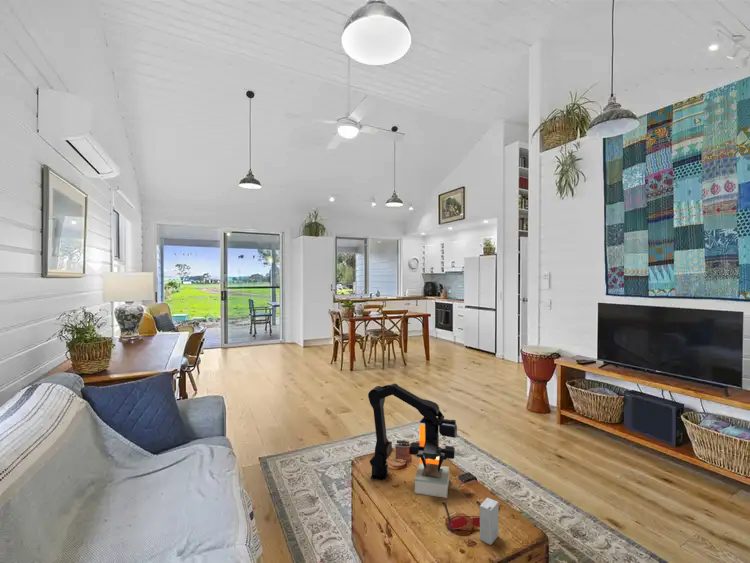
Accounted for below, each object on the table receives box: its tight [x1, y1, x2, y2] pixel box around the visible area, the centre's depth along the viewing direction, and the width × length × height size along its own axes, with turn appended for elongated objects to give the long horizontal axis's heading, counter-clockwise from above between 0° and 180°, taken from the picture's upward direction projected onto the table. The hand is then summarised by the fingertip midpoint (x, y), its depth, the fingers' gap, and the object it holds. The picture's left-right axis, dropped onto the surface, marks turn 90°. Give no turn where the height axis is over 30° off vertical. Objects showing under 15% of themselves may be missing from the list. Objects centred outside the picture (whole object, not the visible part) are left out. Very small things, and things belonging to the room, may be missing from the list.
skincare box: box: [479, 497, 499, 546], centre depth 125 cm, size 6×4×12 cm
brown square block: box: [425, 463, 439, 478], centre depth 156 cm, size 5×5×3 cm
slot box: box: [414, 462, 450, 499], centre depth 156 cm, size 13×13×6 cm
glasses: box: [442, 500, 482, 529], centre depth 137 cm, size 14×16×5 cm
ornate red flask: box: [394, 439, 413, 463], centre depth 179 cm, size 8×3×10 cm, turn 84°
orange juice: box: [419, 424, 440, 465], centre depth 171 cm, size 8×9×20 cm
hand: (432, 470), depth 156 cm, fingers closed on brown square block, 5 cm apart
